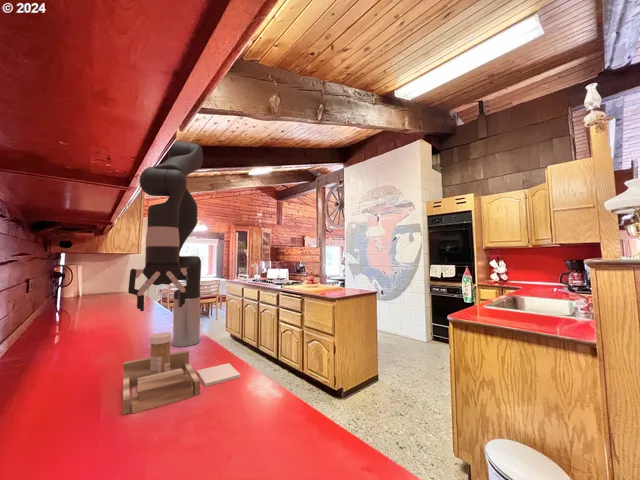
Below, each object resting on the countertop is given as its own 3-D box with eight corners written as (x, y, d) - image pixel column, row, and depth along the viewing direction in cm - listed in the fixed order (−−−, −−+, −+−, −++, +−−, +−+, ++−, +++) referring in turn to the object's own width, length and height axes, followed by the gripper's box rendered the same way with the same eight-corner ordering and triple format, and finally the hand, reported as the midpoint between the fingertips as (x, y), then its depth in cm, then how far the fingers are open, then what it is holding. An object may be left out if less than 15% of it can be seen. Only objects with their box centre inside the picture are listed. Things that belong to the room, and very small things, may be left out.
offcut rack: (123, 386, 71) (123, 362, 71) (187, 371, 80) (188, 350, 80) (122, 416, 58) (123, 386, 58) (200, 394, 66) (200, 368, 67)
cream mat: (197, 373, 78) (197, 370, 78) (229, 365, 84) (229, 363, 84) (205, 386, 70) (205, 383, 70) (240, 377, 75) (240, 374, 75)
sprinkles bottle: (173, 387, 70) (174, 333, 71) (154, 394, 67) (155, 337, 67) (165, 382, 73) (165, 330, 74) (146, 389, 69) (147, 334, 70)
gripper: (189, 246, 79) (189, 303, 78) (129, 245, 71) (127, 310, 70) (195, 245, 73) (194, 307, 72) (129, 244, 65) (127, 314, 64)
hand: (161, 308), depth 71 cm, fingers open, 8 cm apart
